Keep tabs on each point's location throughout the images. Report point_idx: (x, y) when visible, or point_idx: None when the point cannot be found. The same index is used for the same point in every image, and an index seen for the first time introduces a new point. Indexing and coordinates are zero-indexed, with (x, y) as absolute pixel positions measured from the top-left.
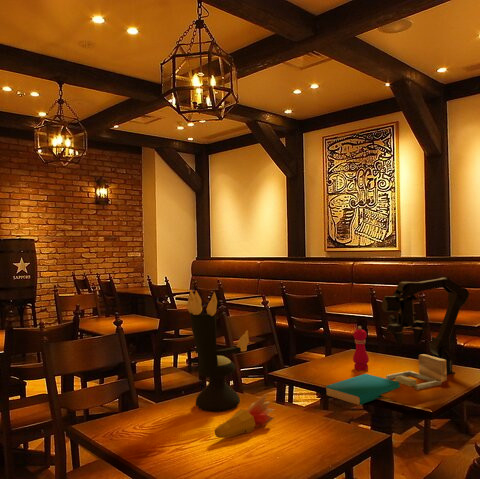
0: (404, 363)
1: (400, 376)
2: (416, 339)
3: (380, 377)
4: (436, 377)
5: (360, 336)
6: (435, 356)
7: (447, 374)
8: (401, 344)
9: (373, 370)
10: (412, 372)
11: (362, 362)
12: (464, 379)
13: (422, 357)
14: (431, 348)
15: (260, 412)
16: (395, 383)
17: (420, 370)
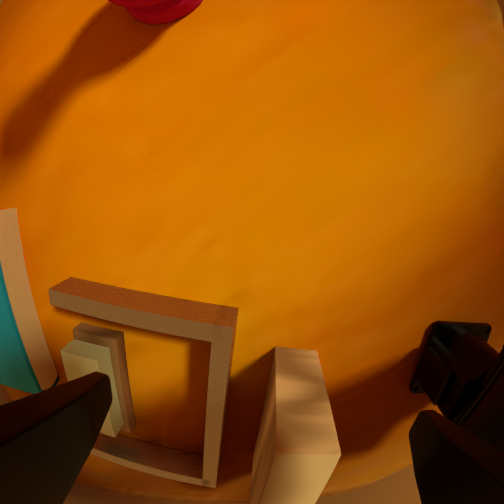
0: (467, 87)
1: (83, 368)
2: (435, 489)
3: (5, 306)
4: (255, 457)
5: None
6: (500, 356)
7: (422, 390)
8: (87, 441)
9: (188, 50)
10: (211, 363)
11: (116, 4)
12: (395, 450)
13: (268, 468)
14: (501, 407)
15: None
16: (26, 390)
17: (274, 383)
